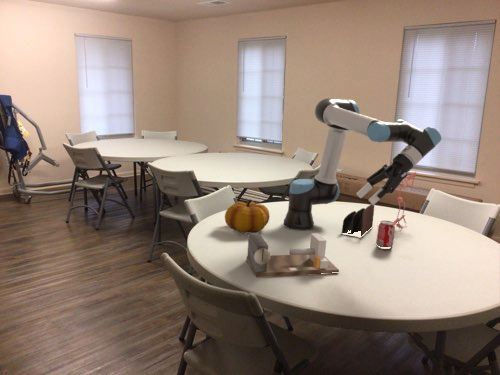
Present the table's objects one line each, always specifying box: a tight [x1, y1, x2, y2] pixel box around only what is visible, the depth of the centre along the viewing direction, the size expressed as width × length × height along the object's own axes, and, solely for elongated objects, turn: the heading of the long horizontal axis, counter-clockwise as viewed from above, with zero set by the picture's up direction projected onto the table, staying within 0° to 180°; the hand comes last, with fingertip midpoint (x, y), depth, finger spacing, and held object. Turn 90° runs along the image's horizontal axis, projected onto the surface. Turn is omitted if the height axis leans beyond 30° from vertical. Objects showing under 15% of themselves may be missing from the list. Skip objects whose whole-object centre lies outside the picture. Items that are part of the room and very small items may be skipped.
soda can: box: [376, 220, 396, 248], centre depth 191 cm, size 7×7×12 cm
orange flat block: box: [314, 255, 320, 269], centre depth 160 cm, size 1×3×4 cm, turn 13°
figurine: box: [392, 172, 417, 228], centre depth 224 cm, size 15×26×35 cm, turn 143°
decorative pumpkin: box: [224, 199, 270, 234], centre depth 204 cm, size 20×22×15 cm
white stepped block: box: [288, 233, 329, 269], centre depth 163 cm, size 12×12×10 cm
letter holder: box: [341, 203, 375, 236], centre depth 212 cm, size 10×20×14 cm, turn 150°
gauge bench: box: [246, 232, 340, 278], centre depth 164 cm, size 33×16×12 cm, turn 103°
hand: (364, 199), depth 165 cm, fingers open, 9 cm apart
